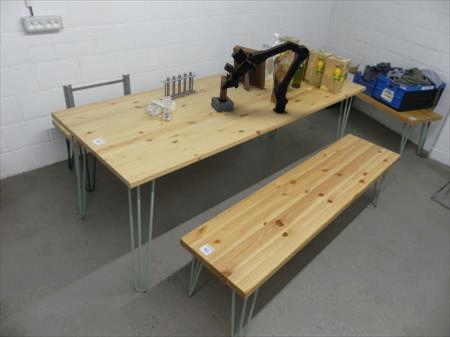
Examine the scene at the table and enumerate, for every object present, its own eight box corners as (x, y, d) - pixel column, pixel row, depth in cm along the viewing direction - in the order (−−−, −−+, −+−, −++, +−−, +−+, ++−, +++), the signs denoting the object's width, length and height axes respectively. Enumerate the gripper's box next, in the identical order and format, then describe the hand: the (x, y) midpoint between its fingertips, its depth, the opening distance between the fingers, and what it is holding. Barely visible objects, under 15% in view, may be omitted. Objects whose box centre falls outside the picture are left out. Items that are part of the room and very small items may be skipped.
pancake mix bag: (264, 101, 226) (270, 56, 210) (281, 94, 238) (289, 51, 223) (272, 104, 222) (280, 59, 207) (290, 97, 234) (298, 54, 219)
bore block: (233, 110, 209) (234, 102, 206) (217, 112, 205) (217, 103, 202) (226, 103, 216) (227, 96, 214) (211, 105, 213) (211, 97, 210)
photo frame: (237, 79, 254) (241, 43, 241) (264, 87, 246) (270, 50, 232) (226, 85, 244) (229, 47, 230) (254, 93, 235) (259, 55, 221)
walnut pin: (227, 98, 208) (229, 77, 201) (223, 100, 205) (225, 78, 198) (222, 96, 210) (224, 75, 203) (218, 98, 207) (219, 76, 200)
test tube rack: (165, 101, 212) (165, 79, 205) (160, 99, 214) (160, 77, 207) (196, 92, 228) (197, 71, 221) (191, 90, 231) (192, 69, 224)
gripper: (232, 53, 203) (211, 71, 208) (234, 63, 188) (212, 83, 193) (244, 68, 208) (224, 85, 213) (248, 79, 193) (225, 97, 198)
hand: (221, 87), depth 204 cm, fingers closed on walnut pin, 4 cm apart
